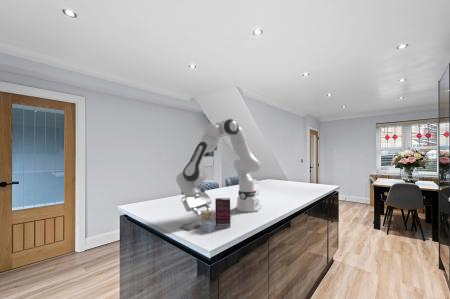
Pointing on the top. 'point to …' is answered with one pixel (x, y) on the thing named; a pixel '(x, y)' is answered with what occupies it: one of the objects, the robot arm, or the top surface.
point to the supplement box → (222, 212)
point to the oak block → (206, 215)
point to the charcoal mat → (190, 226)
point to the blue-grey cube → (208, 226)
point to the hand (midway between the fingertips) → (204, 213)
